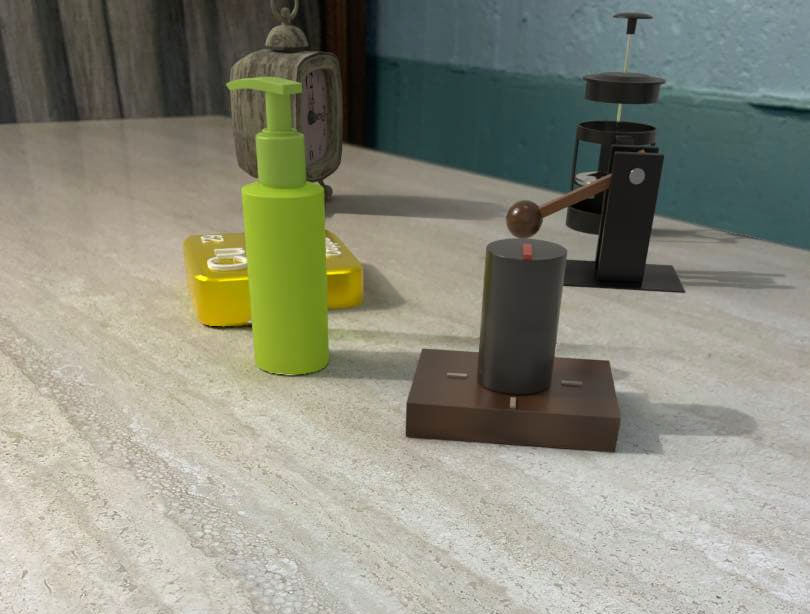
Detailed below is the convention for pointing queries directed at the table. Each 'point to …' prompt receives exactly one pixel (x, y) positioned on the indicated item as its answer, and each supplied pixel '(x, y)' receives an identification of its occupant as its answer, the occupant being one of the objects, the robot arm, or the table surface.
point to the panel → (513, 405)
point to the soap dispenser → (285, 242)
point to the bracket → (627, 228)
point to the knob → (520, 314)
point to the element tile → (229, 286)
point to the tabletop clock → (292, 100)
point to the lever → (548, 208)
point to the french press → (611, 128)
